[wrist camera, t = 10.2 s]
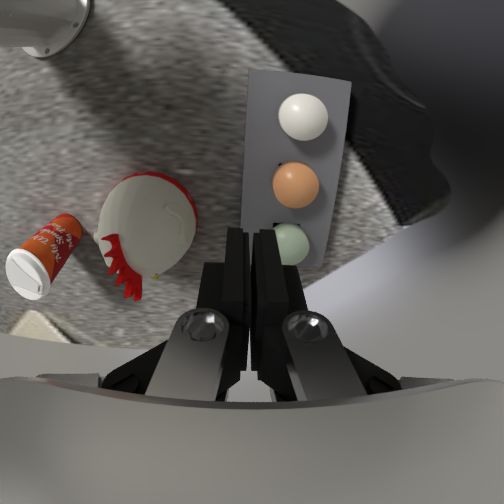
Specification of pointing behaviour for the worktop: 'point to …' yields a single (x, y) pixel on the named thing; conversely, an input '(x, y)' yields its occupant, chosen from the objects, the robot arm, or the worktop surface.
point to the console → (291, 156)
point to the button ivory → (302, 116)
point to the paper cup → (43, 257)
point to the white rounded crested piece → (145, 228)
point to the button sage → (291, 243)
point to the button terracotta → (295, 184)
